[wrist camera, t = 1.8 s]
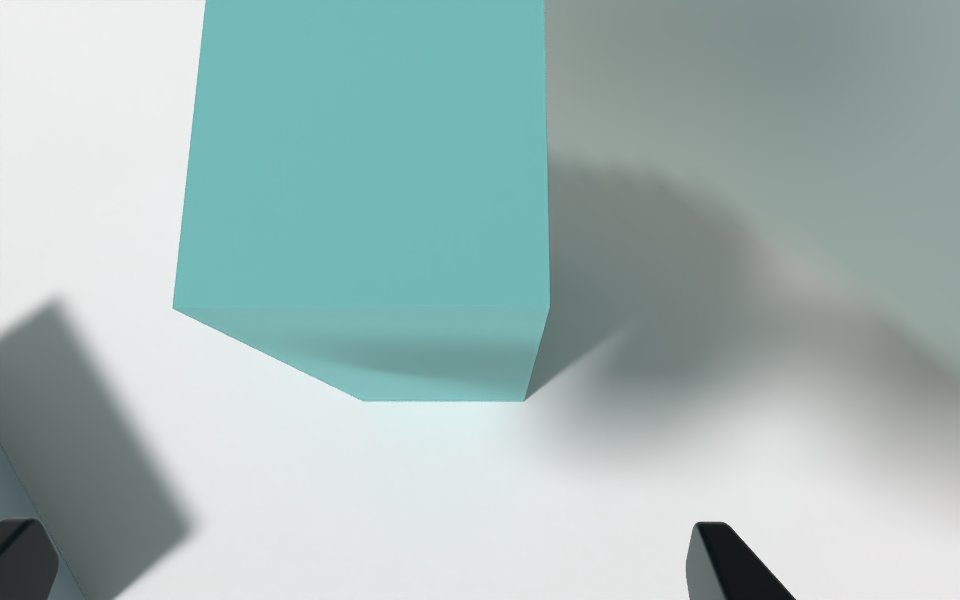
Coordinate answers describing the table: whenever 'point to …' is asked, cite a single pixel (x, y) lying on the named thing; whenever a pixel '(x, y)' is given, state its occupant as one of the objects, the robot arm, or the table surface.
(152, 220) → the table surface
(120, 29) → the table surface
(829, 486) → the table surface
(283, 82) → the teal block
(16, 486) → the base brick
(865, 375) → the table surface
